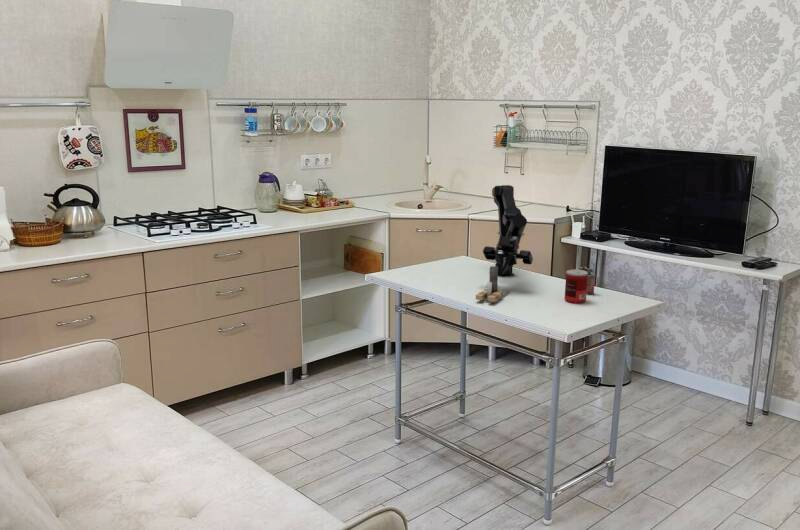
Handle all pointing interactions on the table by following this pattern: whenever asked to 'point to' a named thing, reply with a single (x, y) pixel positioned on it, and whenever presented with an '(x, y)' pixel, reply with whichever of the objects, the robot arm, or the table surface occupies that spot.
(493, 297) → the wooden base with post
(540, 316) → the table surface
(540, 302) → the table surface
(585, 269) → the lighter
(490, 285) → the rail
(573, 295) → the canned food
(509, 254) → the robot arm
